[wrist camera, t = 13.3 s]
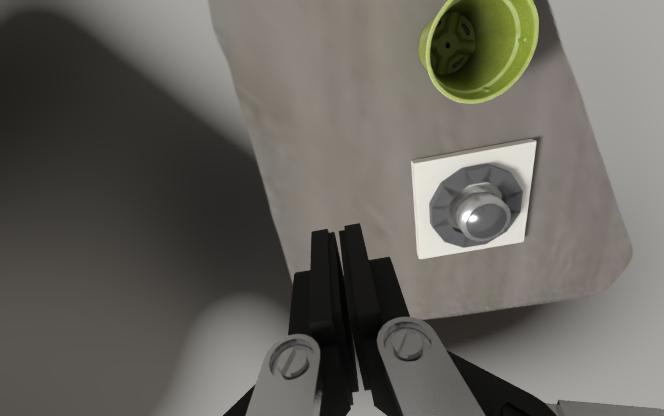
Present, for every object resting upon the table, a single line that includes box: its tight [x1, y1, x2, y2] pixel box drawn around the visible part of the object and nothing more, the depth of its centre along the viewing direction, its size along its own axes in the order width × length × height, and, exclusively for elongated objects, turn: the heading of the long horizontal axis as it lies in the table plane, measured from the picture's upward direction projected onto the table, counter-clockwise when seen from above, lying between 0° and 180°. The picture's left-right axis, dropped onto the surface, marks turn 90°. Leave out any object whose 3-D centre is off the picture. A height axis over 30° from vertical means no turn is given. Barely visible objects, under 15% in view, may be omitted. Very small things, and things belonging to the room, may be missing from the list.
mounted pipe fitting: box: [411, 138, 537, 259], centre depth 42 cm, size 15×15×2 cm
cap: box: [450, 185, 511, 241], centre depth 40 cm, size 6×6×4 cm
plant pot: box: [418, 0, 539, 104], centre depth 30 cm, size 9×9×9 cm
